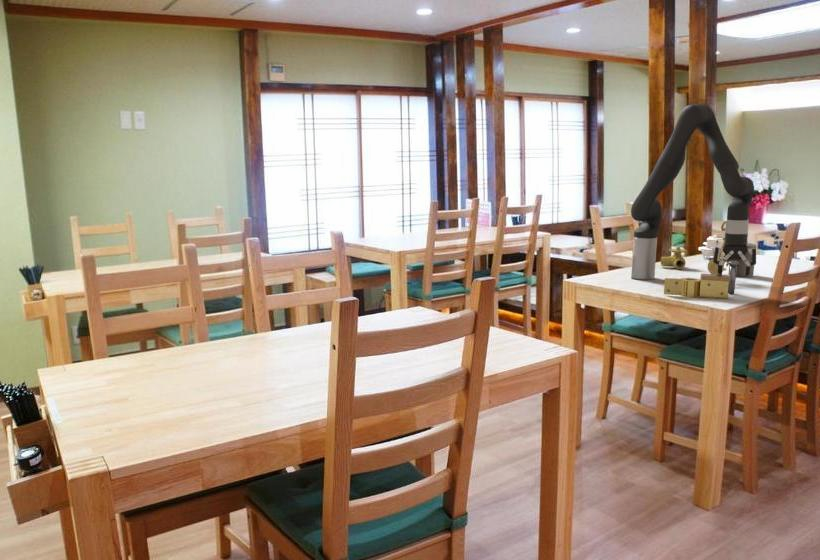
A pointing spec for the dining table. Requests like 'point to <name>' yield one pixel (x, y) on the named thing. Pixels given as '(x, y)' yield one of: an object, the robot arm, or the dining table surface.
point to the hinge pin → (732, 276)
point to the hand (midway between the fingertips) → (733, 275)
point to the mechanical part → (711, 246)
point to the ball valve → (674, 259)
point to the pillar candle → (741, 266)
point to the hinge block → (699, 286)
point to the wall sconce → (714, 267)
